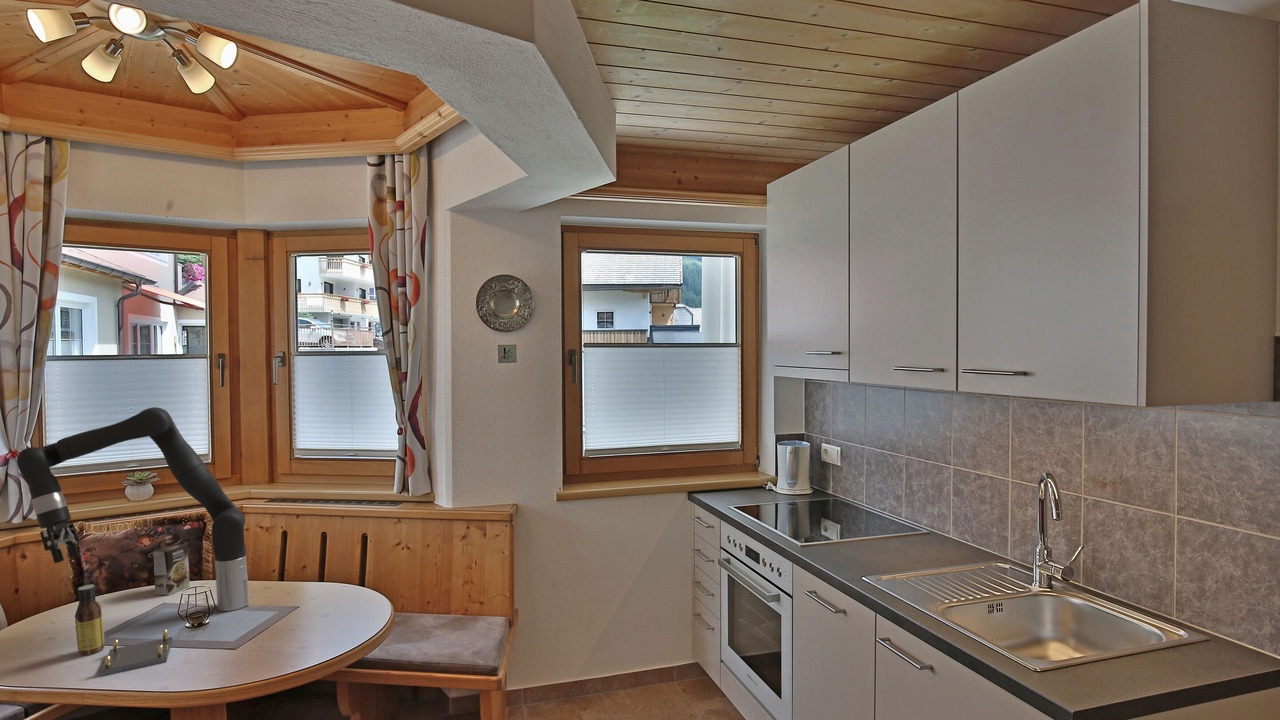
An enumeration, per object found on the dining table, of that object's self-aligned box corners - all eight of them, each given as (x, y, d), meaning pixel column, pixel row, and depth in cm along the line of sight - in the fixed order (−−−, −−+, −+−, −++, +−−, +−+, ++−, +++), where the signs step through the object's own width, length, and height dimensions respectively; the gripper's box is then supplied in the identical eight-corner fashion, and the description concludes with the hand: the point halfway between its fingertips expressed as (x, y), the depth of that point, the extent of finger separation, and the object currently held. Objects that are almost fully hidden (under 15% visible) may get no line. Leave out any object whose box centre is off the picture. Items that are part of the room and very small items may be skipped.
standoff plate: (172, 641, 207) (171, 627, 207) (166, 661, 194) (165, 646, 194) (110, 654, 200) (109, 639, 200) (100, 676, 187) (99, 660, 186)
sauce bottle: (88, 647, 205) (84, 582, 204) (110, 645, 205) (106, 581, 204) (71, 657, 198) (67, 591, 197) (94, 656, 199) (90, 589, 198)
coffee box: (169, 595, 245) (166, 551, 244) (154, 594, 246) (152, 551, 245) (190, 586, 254) (188, 544, 253) (176, 585, 255) (174, 543, 254)
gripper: (52, 507, 203) (68, 559, 202) (77, 502, 216) (93, 551, 216) (23, 516, 200) (39, 568, 200) (50, 511, 214) (66, 560, 214)
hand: (67, 559), depth 208 cm, fingers open, 8 cm apart
